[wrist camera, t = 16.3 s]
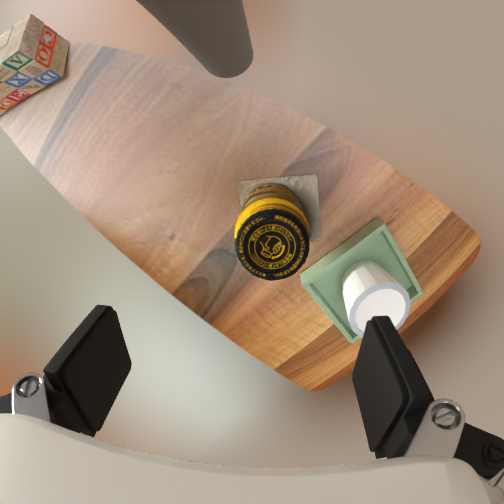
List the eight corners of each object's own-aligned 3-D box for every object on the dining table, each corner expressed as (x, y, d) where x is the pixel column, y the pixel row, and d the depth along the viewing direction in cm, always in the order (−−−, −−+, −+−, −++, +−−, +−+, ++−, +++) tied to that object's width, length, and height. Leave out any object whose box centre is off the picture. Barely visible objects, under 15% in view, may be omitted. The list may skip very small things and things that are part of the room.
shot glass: (353, 315, 35) (367, 350, 28) (324, 278, 33) (336, 310, 27) (397, 284, 33) (420, 314, 26) (372, 243, 31) (394, 269, 25)
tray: (299, 274, 34) (301, 284, 32) (376, 217, 31) (384, 223, 28) (347, 332, 36) (351, 344, 34) (415, 284, 33) (423, 293, 31)
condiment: (236, 181, 30) (217, 204, 19) (316, 174, 30) (344, 193, 18) (245, 245, 33) (232, 300, 22) (320, 239, 32) (344, 291, 21)
